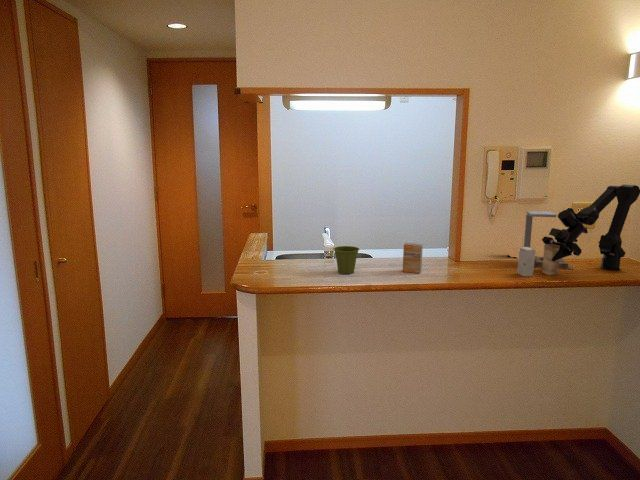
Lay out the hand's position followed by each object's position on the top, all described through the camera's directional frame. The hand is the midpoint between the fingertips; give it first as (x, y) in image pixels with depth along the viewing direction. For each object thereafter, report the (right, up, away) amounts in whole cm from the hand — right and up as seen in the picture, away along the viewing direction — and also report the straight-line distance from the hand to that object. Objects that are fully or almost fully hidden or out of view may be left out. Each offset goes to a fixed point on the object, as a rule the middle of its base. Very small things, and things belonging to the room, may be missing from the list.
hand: (548, 259), depth 202 cm
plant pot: (-90, -6, +6) cm, 90 cm away
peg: (+1, -6, +2) cm, 7 cm away
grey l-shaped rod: (+4, -3, +19) cm, 20 cm away
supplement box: (-60, -6, +6) cm, 60 cm away
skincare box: (-11, -7, 0) cm, 13 cm away
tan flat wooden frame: (+9, -3, +18) cm, 20 cm away
